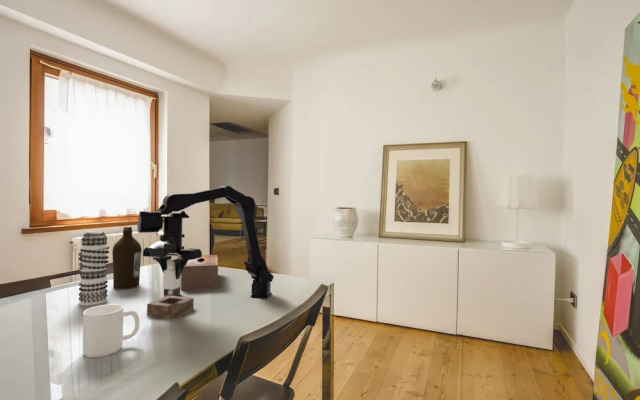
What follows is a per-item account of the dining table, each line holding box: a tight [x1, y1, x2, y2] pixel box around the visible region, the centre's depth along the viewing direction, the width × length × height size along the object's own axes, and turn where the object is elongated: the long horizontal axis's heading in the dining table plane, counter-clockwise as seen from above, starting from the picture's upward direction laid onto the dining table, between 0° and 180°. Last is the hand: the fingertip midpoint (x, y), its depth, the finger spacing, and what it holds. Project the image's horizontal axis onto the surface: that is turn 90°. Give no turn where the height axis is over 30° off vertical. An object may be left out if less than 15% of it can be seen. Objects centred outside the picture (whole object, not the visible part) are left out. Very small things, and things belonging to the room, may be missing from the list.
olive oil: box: [112, 226, 143, 290], centre depth 139 cm, size 11×11×25 cm
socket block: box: [146, 295, 195, 319], centre depth 110 cm, size 10×10×4 cm
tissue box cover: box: [180, 254, 219, 291], centre depth 150 cm, size 26×14×10 cm, turn 18°
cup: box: [82, 303, 140, 359], centre depth 83 cm, size 8×12×10 cm
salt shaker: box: [162, 258, 181, 290], centre depth 110 cm, size 4×4×10 cm
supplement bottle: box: [163, 275, 181, 297], centre depth 128 cm, size 6×6×11 cm
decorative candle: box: [78, 230, 110, 306], centre depth 119 cm, size 9×9×25 cm
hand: (171, 278), depth 110 cm, fingers closed on salt shaker, 4 cm apart
